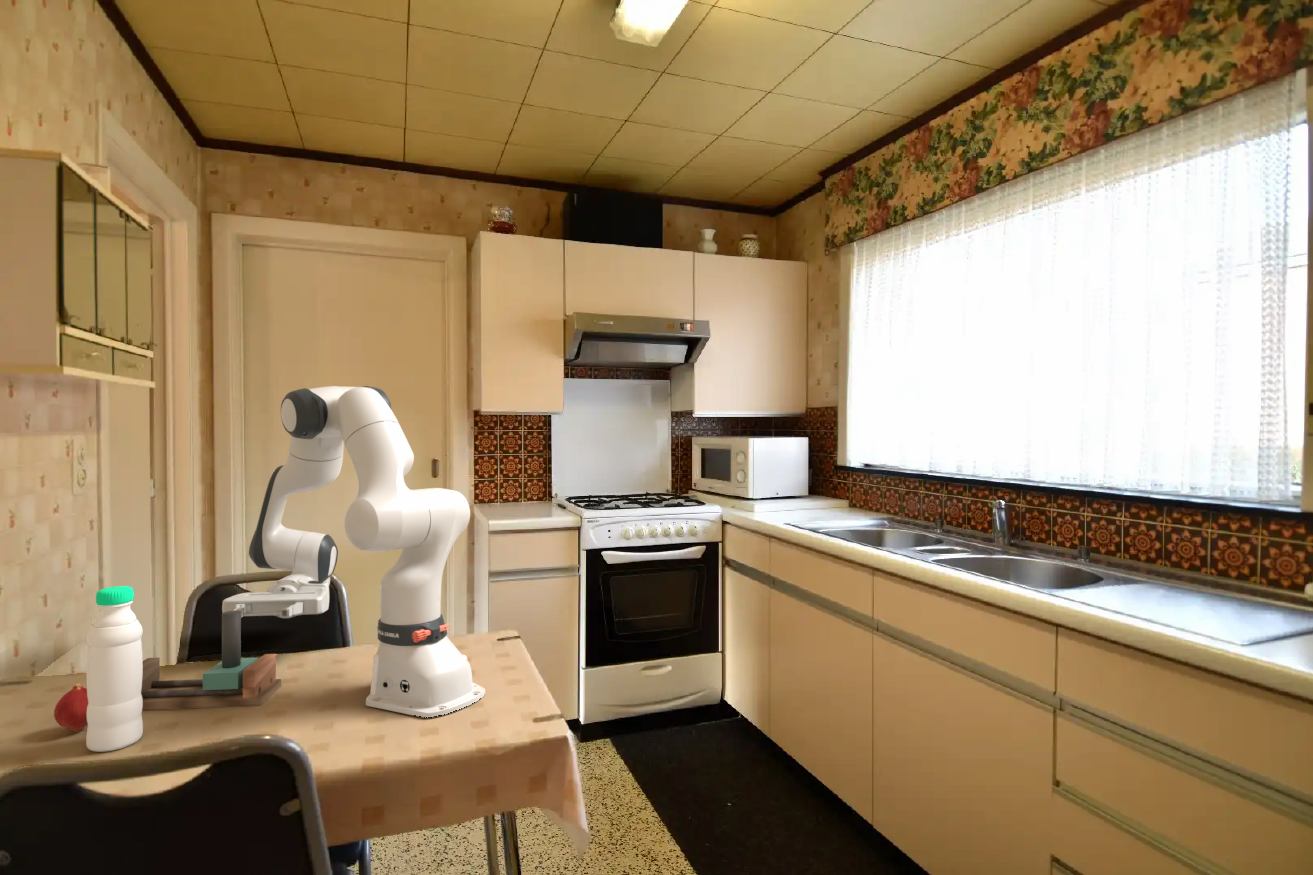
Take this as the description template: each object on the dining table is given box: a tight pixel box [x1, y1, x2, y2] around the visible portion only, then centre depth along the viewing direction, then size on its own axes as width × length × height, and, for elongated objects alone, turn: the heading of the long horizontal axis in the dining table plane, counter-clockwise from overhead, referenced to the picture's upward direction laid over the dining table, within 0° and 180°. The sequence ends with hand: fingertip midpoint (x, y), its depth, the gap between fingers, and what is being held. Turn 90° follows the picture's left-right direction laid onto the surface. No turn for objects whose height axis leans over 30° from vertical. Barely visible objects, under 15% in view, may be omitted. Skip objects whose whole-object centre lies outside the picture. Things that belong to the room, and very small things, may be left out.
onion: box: [53, 683, 88, 733], centre depth 112 cm, size 6×6×8 cm
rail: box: [141, 653, 282, 711], centre depth 126 cm, size 24×9×6 cm, turn 97°
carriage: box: [202, 610, 259, 690], centre depth 126 cm, size 6×8×13 cm
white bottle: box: [85, 585, 144, 753], centre depth 108 cm, size 7×7×25 cm
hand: (261, 613), depth 138 cm, fingers open, 8 cm apart
